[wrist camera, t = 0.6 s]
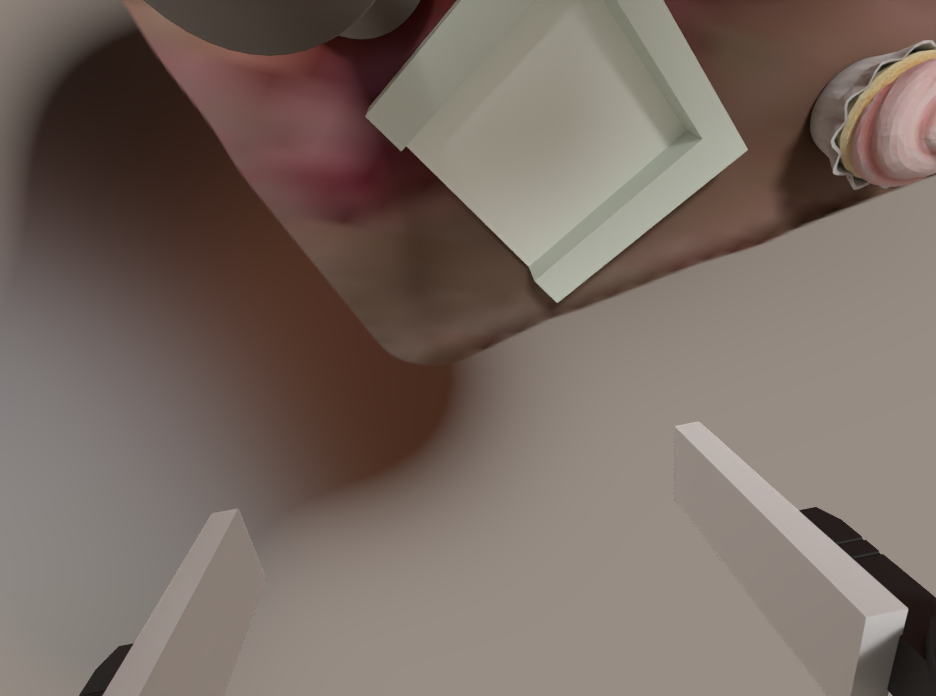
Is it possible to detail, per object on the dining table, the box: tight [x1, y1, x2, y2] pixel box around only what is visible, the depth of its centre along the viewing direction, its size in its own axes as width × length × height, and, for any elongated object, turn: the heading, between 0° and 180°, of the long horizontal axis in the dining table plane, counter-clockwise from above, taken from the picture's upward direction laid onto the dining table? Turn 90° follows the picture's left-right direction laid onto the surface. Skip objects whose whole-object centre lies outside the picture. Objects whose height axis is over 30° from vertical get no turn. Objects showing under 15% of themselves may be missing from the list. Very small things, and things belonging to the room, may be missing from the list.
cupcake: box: [810, 40, 936, 190], centre depth 32 cm, size 9×9×10 cm
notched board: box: [365, 0, 748, 303], centre depth 33 cm, size 17×20×3 cm
